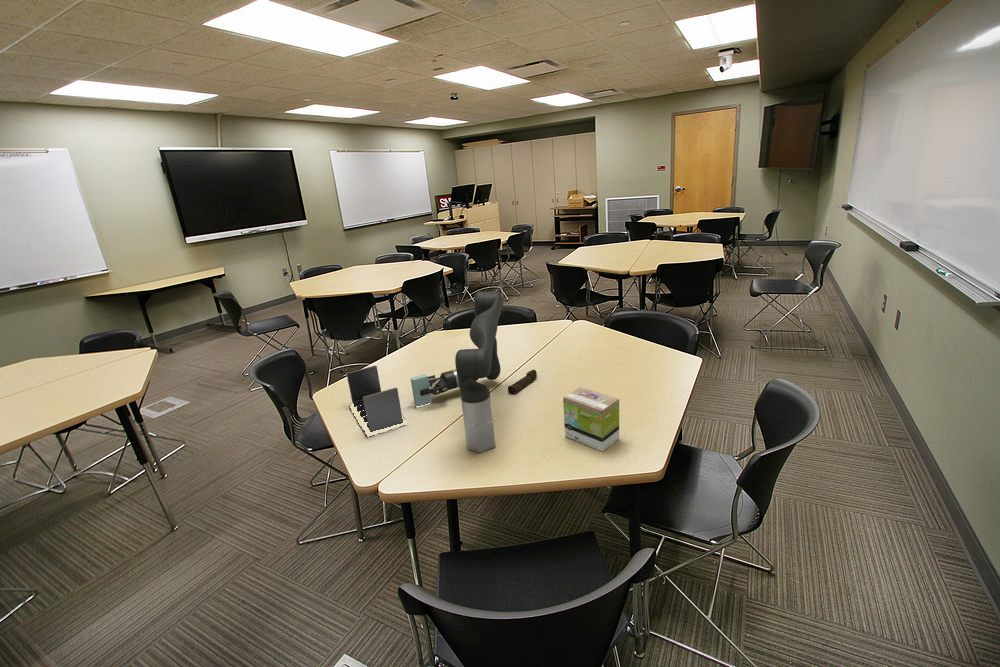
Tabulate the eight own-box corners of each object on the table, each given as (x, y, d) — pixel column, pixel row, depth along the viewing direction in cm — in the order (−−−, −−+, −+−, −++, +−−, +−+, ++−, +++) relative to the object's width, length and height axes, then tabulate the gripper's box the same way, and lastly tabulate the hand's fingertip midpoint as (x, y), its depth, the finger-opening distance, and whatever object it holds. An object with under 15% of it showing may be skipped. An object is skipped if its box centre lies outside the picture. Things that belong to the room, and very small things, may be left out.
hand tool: (515, 396, 184) (514, 385, 183) (507, 394, 187) (506, 383, 185) (542, 379, 198) (541, 369, 196) (534, 377, 200) (533, 367, 199)
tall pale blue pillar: (431, 403, 184) (427, 376, 180) (417, 408, 181) (412, 380, 177) (428, 401, 186) (424, 374, 182) (414, 405, 183) (410, 378, 180)
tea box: (563, 437, 151) (561, 396, 147) (581, 425, 158) (580, 385, 153) (602, 453, 141) (601, 409, 136) (620, 439, 147) (620, 397, 143)
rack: (407, 424, 168) (401, 387, 164) (366, 438, 162) (359, 399, 157) (385, 396, 194) (379, 364, 189) (348, 407, 187) (341, 373, 182)
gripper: (446, 365, 193) (409, 375, 185) (460, 375, 181) (421, 387, 173) (448, 381, 195) (412, 392, 188) (462, 393, 183) (424, 404, 176)
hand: (416, 389), depth 181 cm, fingers open, 8 cm apart
